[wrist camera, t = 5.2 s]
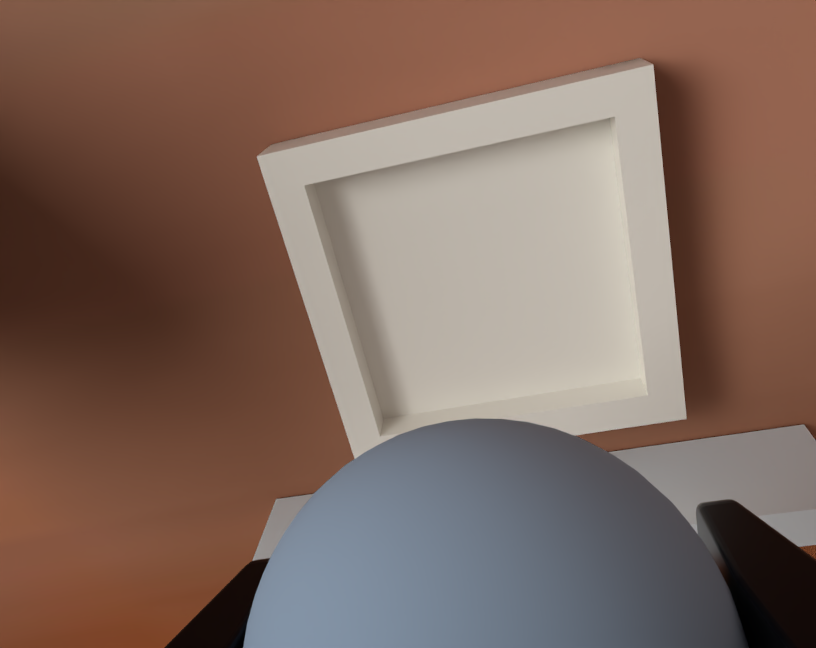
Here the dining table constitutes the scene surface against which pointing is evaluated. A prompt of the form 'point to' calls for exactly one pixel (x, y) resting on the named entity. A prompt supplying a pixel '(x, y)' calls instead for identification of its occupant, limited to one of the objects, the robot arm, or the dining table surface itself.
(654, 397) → the coaster
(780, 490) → the wall
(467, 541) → the ball
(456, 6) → the dining table surface
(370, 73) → the dining table surface
